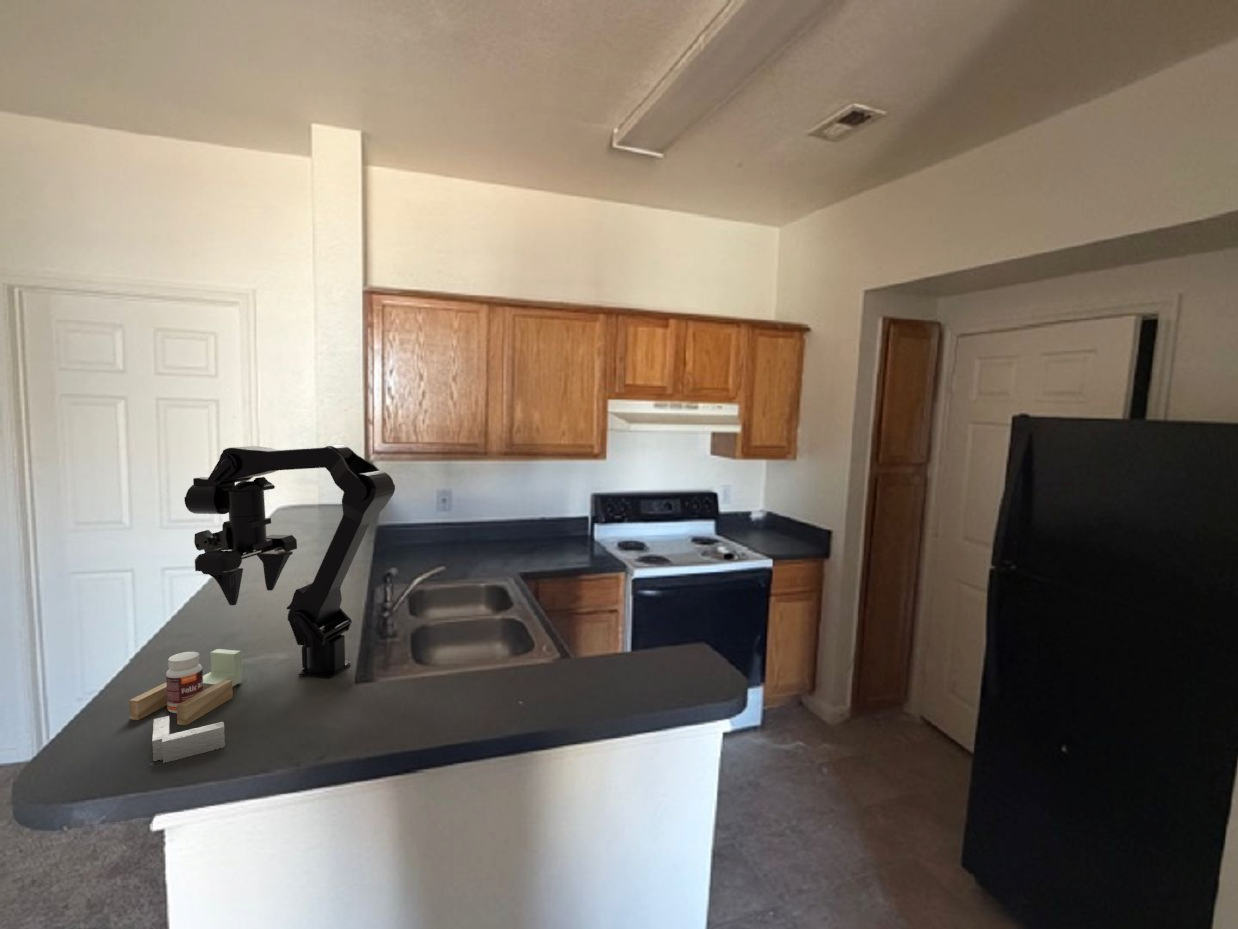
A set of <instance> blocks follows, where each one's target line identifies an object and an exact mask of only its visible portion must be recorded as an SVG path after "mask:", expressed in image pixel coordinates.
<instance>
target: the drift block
mask: <svg viewBox="0 0 1238 929" xmlns="http://www.w3.org/2000/svg"><path fill="white" fill-rule="evenodd" d="M209 654H210V655H209V656H210V672H209V673H206V674H204V675H203V691H204V690H206V689H207V688H209V687H211V686H213V685H215V684H217V683H219V682H220V681H222V680H232V688H233V687H235V686H236V685H238V684H240V683H242V682H243V677H242V676H243V675H242V672H243V671H242V651H241V650H234V649H233V650H232V649H231V650H230V649H222V648H216V649H214V650H213V651H210V652H209Z"/></svg>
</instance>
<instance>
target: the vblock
mask: <svg viewBox="0 0 1238 929" xmlns="http://www.w3.org/2000/svg"><path fill="white" fill-rule="evenodd" d="M170 723H171V721H170V715H166V716H162V717H157V718H154V719H153V723H152V726H153V727H152V738H151V739H152V740H151V741H152V760H153V761H156V760H160V761H162V763H163V764H166V763H170V762H174V761H177V760H181V759H185V758H188V757H191V756H197V755H200V754H203V753H208V752H211V751H215V749H216V750H219V748H220V749H223V748H225V747H226V741H225V740H226V739H225V736H226V735H225V723H224V721H221V722H220V721H219V722H216V723H212V724H207V725H204V726H203V725H202V726H199V727H195V728H190V729H186V730H182V731H179V732H175V733H174V732H172V733H171V727H170V726H171V724H170ZM153 761H152V762H153ZM156 762H157V761H156ZM165 762H166V763H165Z"/></svg>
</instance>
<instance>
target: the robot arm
mask: <svg viewBox="0 0 1238 929" xmlns="http://www.w3.org/2000/svg"><path fill="white" fill-rule="evenodd" d="M323 468H325V469H326V470H327V471H328V472H329V474H330V476H331V478H332V480H333V482H334V485H336V486H337V487H338V488H339V489H340V491H343V494H342V497H341V498H342V499H341V507H342V517H341V519H340V521H339V524H338V525H337V528H336V530H335V533H334V534H333V536H332V539H331V540H330V544H329V546H328V548H327V549H326V552H325V555H324V557H323V559H322V561H321V564H320V565H319V568H318V570H317V572H316V574H315V576H314V579H313V581H312V582H311V583H308V584H306V585H304V586H301V587H299V588H296V589H295V591H294V593H293V596H292V599H291V602H290V603H289V605H287V607H286V610H289V611H288V613H287V621H288V622H289V625H290V628H291V630H292V633H293V635H294V639H295V641H296V644H297V645H298V646H301V666H302V669H301V670H300V671H298V672H297V673H298V674H297V675H298V676H302V677H314V678H323V679H326V678H327V679H330V678H331V679H332V678H333V677H335V675H337V674H338V673H340V672H341V671H343V670H344V669H346V668H347V667H349V666H350V665H351V661H350V660H346V640H345V639H346V636H345V635H344V633H346V632H348V631H350V628H351V626H352V619H351V618H350V616H349V615H347V614H346V612H345V611H344V610H343V609H342V608H341V604H342V599H343V598H342V590H341V587H342V584H343V582H344V580H345V578H346V575H347V573H348V571H349V569H350V567H351V565H352V564H353V561H354V559H355V556H356V554H357V552H358V550H359V548H360V545H361V543H362V541H363V539H364V537H365V535H366V532H367V531H368V528H369V526H370V524H371V522H372V521H373V520H374V519H375V518H376V516H378V515H379V514H380V513H381V511H382V510H384V508H385V507H386V506H387V505H388V503H389V502H390V500H391V498H393V496H394V494H395V490H396V485H395V483H394V481H393V478H392V477H391V475H389V474H388V473H387V472H385V471H382V470H380V468H378V467H377V466H376V465H374V464H373V463H372V462H370V461H368V460H366V459H365V458H363V457H361V456H360V455H358V454H357V453H355V452H354V450H352V449H351V448H350V447H349V446H347V445H344V444H338V445H337V444H336V445H327V446H323V447H310V448H296V449H295V448H293V449H276V448H273V447H267V446H258V445H252V446H251V445H249V446H248V445H247V446H236V447H228V448H224V449H223V450H222V452H221V454H220V456H219V460H218V462H217V463H216V465H215V466H214V468H213V470H212V471H211V473H210V475H208V477H207V476H206V477H203V476H200V477H193V478H192V479H193V483H192V484H191V486H190V487H189V488H188V489H187V491H186V494H185V496H184V505H185V507H186V509H187V511H189V512H190V513H192V514H196V515H198V514H201V515H227V514H228V520H226V521H223V523H222V525H221V526H222V527H221V528H222V529H221V530H219V531H217V532H212V531H211V530H209V529H207V530H201V531H198V532H196V533H194V538H193V540H194V546H195V549H196V550H197V551H204V553H200V554H198V555H197V557H195V558H194V571H195V572H201V573H202V574H203V575H209V576H210V577H212V578H213V579H214V580H215V581H216V582H217V584H218V585H219V587H220V589H221V591H222V593H223V595H224V598H225V600H226V601H227V603H228V605H229V606H236V605H237V603H238V599H239V595H240V589H241V583H242V577H243V571H244V567H243V568H242V567H240V566H241V564H242V563H243V560H244V559H249V558H250V557H255V556H257V557H258V558H259V560H260V561H261V563H262V568H263V575H264V582H265V587H266V588H265V589H266V590H267V591H270V592H271V591H273V590H274V589H275V587H276V584H277V582H278V580H279V578H280V576H281V574H282V572H283V569H284V568H285V565H286V564H287V562H288V561H289V558H290V557H291V556H292V555H294V554H293V553H294V552H293V551H294V550H297V549H298V544H297V542H298V539H296V537H295V536H294V535H293V534H270V535H269V534H268V535H267V525H270V524H272V518H271V517H266V508H265V507H266V505H265V491H269V490H274V489H275V488H276V486H275V484H273V483H272V482H270V481H269V480H268V479H267V478H266V477H265V476H264V475H269V474H273V473H275V472H278V471H286V470H287V471H289V470H290V471H291V470H308V469H310V470H311V469H323ZM261 476H262V477H261ZM254 477H255V478H254ZM253 478H254V479H253ZM251 479H253V480H251Z"/></svg>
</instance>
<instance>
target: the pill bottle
mask: <svg viewBox="0 0 1238 929" xmlns="http://www.w3.org/2000/svg"><path fill="white" fill-rule="evenodd" d="M200 660H201V659H200V653H199V652H197V651H183V652H180V653H176V654H173V655H171V656H170V657H169V658H168V659H167V662H168V663H167V667H168V670H167V671H166V673H165V680H166V683H167V705H166V706H167V711H168V712H169V713H173V714H177V705H178V704H180V703H182V702H184V701H185V700H187V699H189V698H191V697H193V696H195V695H196V694H198V693H200V692H202V691H203V676H204V675H203V674H204V670H203V665H202V664H200Z"/></svg>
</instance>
